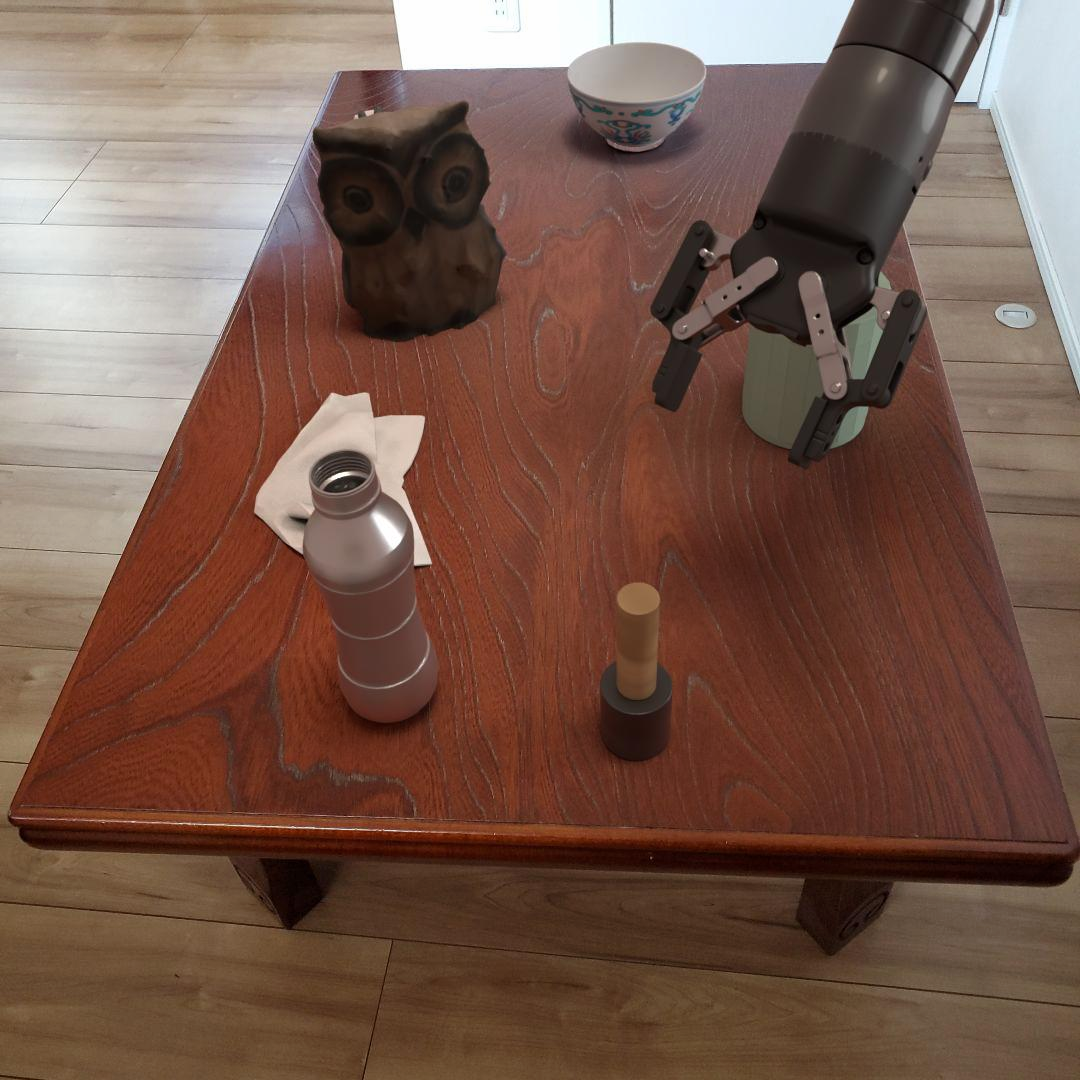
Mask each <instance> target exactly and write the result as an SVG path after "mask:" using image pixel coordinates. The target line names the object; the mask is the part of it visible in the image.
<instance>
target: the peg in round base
mask: <svg viewBox="0 0 1080 1080" xmlns="http://www.w3.org/2000/svg"><path fill="white" fill-rule="evenodd" d="M660 604H661V597H660V594H659V592H658V590H657V589H656V588H655V587H653V586H652V585H650V584H648V583H645V582H641V581H639V582H631V583H628V584H626V585H624V586H622V587H621V588H620V589H619V591H618V592H617V594H616V660H615V661H613V662H612V663H611V664H610V665H608V666H607V667H606V669H604V671H603V673H602V675H601V677H600V680H599V681H600V682H599V701H600V703H599V706H600V707H599V708H600V709H599V711H600V736H601V739H602V742H603V744H604V745H605V747H606V748H607V750H609V751H610V752H611V753H612V754H614V755H616V756H617V757H619V758H621V759H624V760H628V761H636V762H637V761H638V762H639V761H644V760H648V759H651V758H654V757H657V755H659V754H660V753H661V752H662V751H664V750H665V748H666V746H667V745H668V743H669V741H670V737H671V726H672V725H671V724H672V707H673V692H674V691H673V690H674V683H673V680H672V677H671V675H670V673H669V671H668V669H666V668H665V666H664V665H662V663H659V661H658V656H659V655H658V654H659V653H658V652H659V633H660V632H659V631H660V611H661V610H660V607H661V605H660Z"/></svg>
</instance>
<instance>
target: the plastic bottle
mask: <svg viewBox="0 0 1080 1080" xmlns="http://www.w3.org/2000/svg"><path fill="white" fill-rule="evenodd" d="M309 485H310V488H311V491H312V492H311V497H312V502H313V505H314V507H315V509H314V511H313V512H312V514H311V516H310V518H309V520H308V522H307V524H306V527H305V530H304V538H303V547H302V548H303V554H302V555H303V558H304V560H305V563H306V566H307V569H308V571H309V573H310V575H311V577H312V579H313V581H314V583H315V585H316V586H317V589H318V590H319V592H320V594H321V596H322V598H323V600H324V603H325V607H326V608H327V611H328V614H329V616H330V620H331V623H332V625H333V629H334V635H335V642H336V649H337V662H336V667H337V679H338V684H339V685H338V686H339V689H340V691H341V693H342V695H343V697H344V699H345V701H346V702H347V704H348V705H349V707H350V708H351V709H352V710H353V712H355V713H356V714H357V715H358V716H360V717H361V718H363V719H365V720H368V721H371V722H376V723H381V724H392V723H398V722H401V721H405V720H407V719H409V718H411V717H413V716H414V715H416V714H417V713H419V711H420V710H422V709H423V708H424V707H425V706H426V705H427V704H428V703H429V701H430V700H431V699H432V697H433V695H434V693H435V691H436V689H437V685H438V673H439V660H438V656H437V652H436V650H435V647H434V644H433V642H432V640H431V638H430V636H429V634H428V632H427V631H426V628H425V625H424V622H423V619H422V615H421V613H420V609H419V606H418V599H417V590H416V582H415V566H414V531H413V526H412V523H411V521H410V519H409V517H408V515H407V514H406V512H405V510H404V509H403V507H402V506H401V505H400V504H399V503H398V502H397V501H396V500H394V499H393V498H391V497H390V496H388V495H387V494H385V493H384V492H382V488H381V484H380V480H379V478H378V476H377V474H376V469H375V465H374V463H373V461H372V459H371V458H370V457H369V456H368V455H367V454H366V453H364V452H362V451H359V450H354V449H341V450H336V451H333V452H330V453H327V454H326V455H324V456H322V457H321V458H319V459H318V460H317V461H316V462H315V463H314V464H313V465H312V467H311V469H310V471H309Z"/></svg>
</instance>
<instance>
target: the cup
mask: <svg viewBox="0 0 1080 1080" xmlns="http://www.w3.org/2000/svg"><path fill="white" fill-rule="evenodd" d="M878 286H879V287H881V288H885V289H889V290H892V288H891V283H890V280H889V279H888V278H887V277H886V275H885V274H884V273H883V272H882V270H881V271H880V274H879V280H878ZM877 314H878V312H877V308H875V307H873V308H872V309H871V310H870V311H868V312H867V313H865V314H864V315H862V316H861V317H859V318H858V319H856V320H854V321H853V322H851V323H850V324H848V325H847V326H845V327H844V330H845V335H846V339H847V344H848V348H849V353H850V357H851V369H852V374H853V378H854V379H864V378H865V375H866V373H867V370H868V368H869V365H870V363H871V360H872V358H873V355H874V353H875V350H876V348H877V345H878V343H879V340H880V338H881V335H882V333H883V331H882V330H881V328H880V327H879V326H878V324H877V321H876V319H877ZM747 340H748V341H747V347H746V348H747V349H746V359H745V366H744V378H743V387H742V396H741V401H742V402H741V413H742V416H743V420H744V421H745V423H746V426H748V427H749V429H750V430H751V431H752V432H753V433H754V434H755V435H757V436H758V437H759V438H760V439H762V440H764V441H766V442H768V443H770V444H772V445H774V446H778V447H780V448H783V449H787V450H791V448H792V446H793V444H794V442H795V440H796V437H797V435H798V433H799V431H800V429H801V427H802V424H803V422H804V420H805V418H806V416H807V414H808V411H809V409H810V407H811V405H812V403H813V401H814V399H815V396H817V397H820V398H821V397H822V395H823V392H824V388H823V383H822V378H821V374H820V369H819V365H818V361H817V359H816V357H815V354H814V350H813V346H812V345H806V347H804V346H801V345H798V344H796V343H793V342H792V341H790V340H789V339H788V338H786V337H785V336H784V335H782V334H771V333H766V332H763V331H761V330H758V329H756V328H755V327H753V326H752V325H751V324H750V323H749V329H748V339H747ZM868 412H869V407H855V408H852V409H851V410H849V411H848V412H847V414H846V415H845V417H844V419H843V421H842V424H841V426H840V428H839V430H838V432H837V434H836V436H835V438H834V441H833V443H832V445H831V447H830V449H829V450H832V449H835V448H839V447H840V446H843V445H845V444H847V443H849V442H850V441H852V440H853V439H855V438H856V437H857V435H859V434H860V432H861V431H862V429H863V428H864V425H865V423H866V418H867V415H868Z"/></svg>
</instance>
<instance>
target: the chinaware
mask: <svg viewBox="0 0 1080 1080" xmlns="http://www.w3.org/2000/svg"><path fill="white" fill-rule="evenodd" d="M706 78H707V67H706V64H705V62H704V61H703V60H702V59H701V58H700V57H699V56H698V55H697V54H695V53H693V52H692V51H689V50H687V49H684V48H683V47H682V48H681V47H679V46H677V45H676V46H675V45H671V44H667V43H660V42H649V41H648V42H647V41H635V42H622V43H621V42H620V43H614V44H608V45H604V46H600V47H597V48H594V49H592V50H588V51H587V52H585V53H582V54H581V55H580V56H578V57H577V58H575V59H574V60H573V61H572V62H571V63H570V64H569V66H568V68H567V70H566V79H567V80H566V81H567V84H568V89H569V92H570V95H571V98H572V101H573V104H574V106H575V107H576V110H577V111H578V113H579V114H580V116H581V117H582V119H583V120H584V122H585V123H586V124H587V125H588V126H589V127H590V128H591V129H592V130H594V131H595V132H596V133H597V134H599V135H600V136H602V137H604V138H605V139H606V138H607V139H608V140H610V141H611V142H613V143H616V144H618V145H622V146H625V147H626V146H628V147H647V146H650V145H653V144H656V143H658V142H660V141H661V140H662V139H663V138H664V137H665V138H666V137H668V136H669V135H671V134H672V133H674V132H675V131H676V130H678V129H679V128H680V127H681V126H682V125H683V124H684V123H685V121H687V119H688V118H689V117H690V115H691V114H692V113H693V112H694V109H695V108H696V106H697V104H698V102H699V99H700V97H701V95H702V92H703V89H704V86H705V82H706Z"/></svg>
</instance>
